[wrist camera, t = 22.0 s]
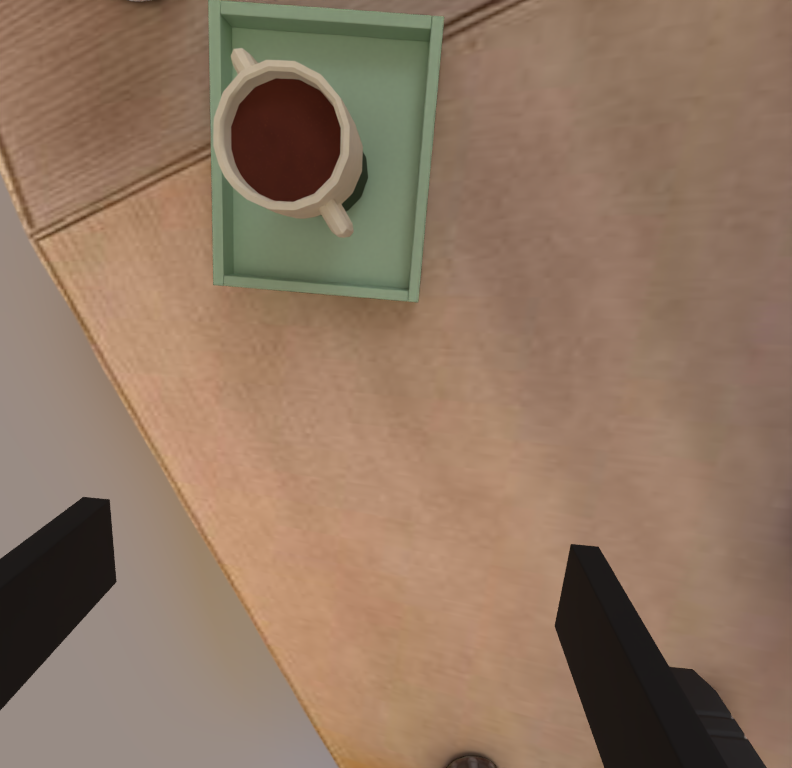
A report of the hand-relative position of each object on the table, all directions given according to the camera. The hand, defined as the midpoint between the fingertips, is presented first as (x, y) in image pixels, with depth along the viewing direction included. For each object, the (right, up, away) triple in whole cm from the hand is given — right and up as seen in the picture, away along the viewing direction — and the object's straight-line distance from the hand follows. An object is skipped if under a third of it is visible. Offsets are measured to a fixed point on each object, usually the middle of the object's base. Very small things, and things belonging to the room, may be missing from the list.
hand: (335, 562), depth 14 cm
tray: (-3, +22, +24) cm, 32 cm away
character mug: (-3, +21, +24) cm, 32 cm away
